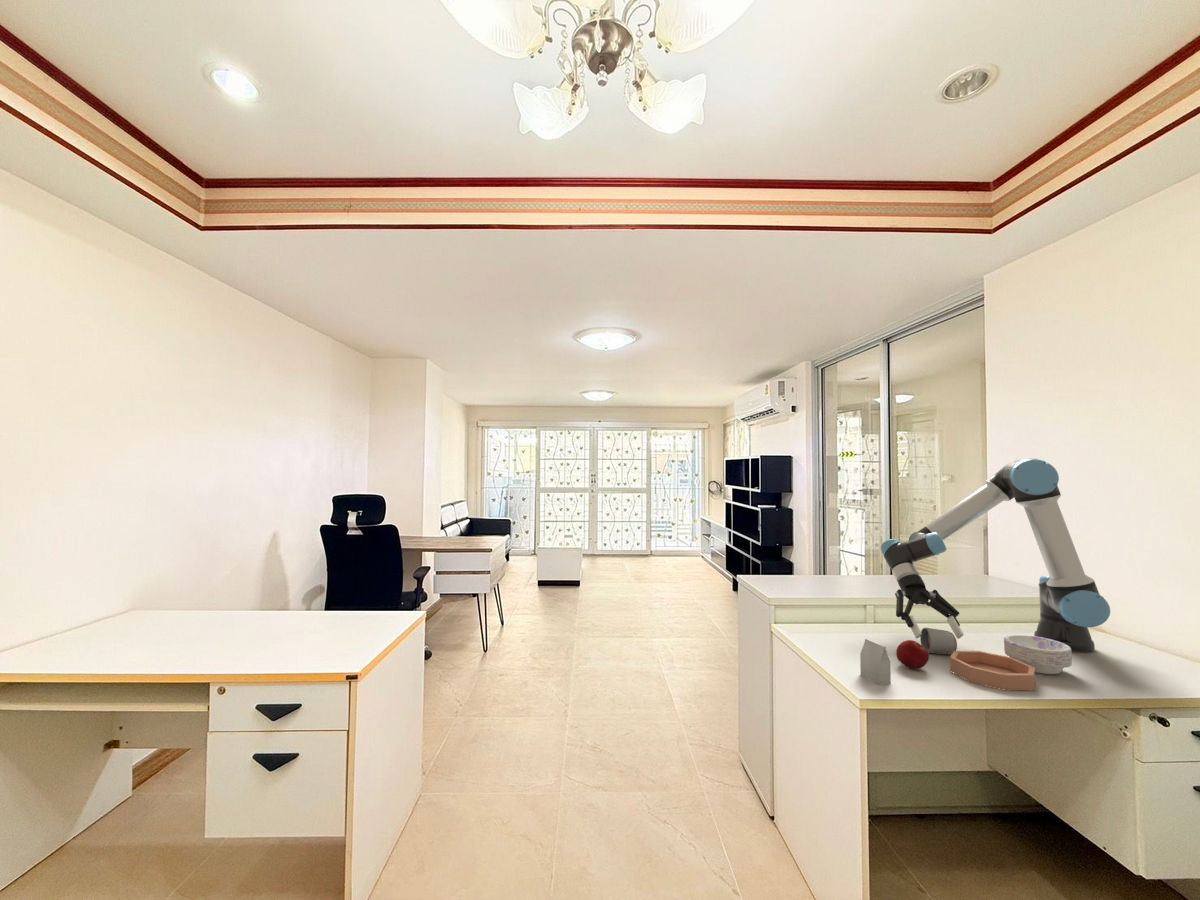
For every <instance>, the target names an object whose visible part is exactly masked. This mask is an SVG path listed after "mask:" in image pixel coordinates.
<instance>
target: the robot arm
mask: <svg viewBox="0 0 1200 900" xmlns="http://www.w3.org/2000/svg"><path fill="white" fill-rule="evenodd" d="M1059 477H1060V476H1059V473H1058V471H1057V469H1056V468H1055V466H1053V465H1052V464H1051V463H1049V462H1047V461H1045V460H1042V459H1038V458H1025V459H1024V458H1023V459H1018V460H1017V459H1016V460H1014V461H1010V462H1009V463H1006V465H1004V466H1003V467H1001V468H1000V469H999V470H998V471H997V472H996V473H994V474H993V475H992V476H990V478H988V479H986V480H985V485H983V486H981V487H980V488H979V489H977V490H976V491H975V492H973V493H971V494H970V495H969V496H967V497H966V498H964V499H963V500H961V501H960V502H958V503H957V504H955V505H954V506H953V507H951V508H950V509H948V510H947V511H946V512H943V513H942V514H941V515H939V516H938V517H937V518H935V519H934V520H932V521H931V522H929V523H928V524H926V525H925V526H924V527H923V528H921V529H919V530H918V531H914V532H913V533H911V534H910V536H909V537H908V540H907V541H903V542H902V541H901V540H899V539H898V538H893V539H891V538H889V539H887V540H885V541H883V542H882V543H881V545H880V551H881V553H882V556H883V557H884V560H885V562H886V563H887V565H888V567H889V568H890V569H889V570H891V572H892V575H893V577H894V578H895V580H896V582H897V584H898V586H899V589H897V590H896V591H895V593H894V594H895V598H896V604H895V605H896V606H895V616H896V617H897V618H901V620H902V621H905V624H906V625H907V627H908V628H910V630H911V631H912V634H913V635H914V638H915V639H919V638H920V636H921V635H922V633H921V630H920V627H919V625H918V623H917V622H916V619H915V617H914V615H910V613H911V611H912V608H913V607H914V604H915V605H926V606H927V607H931V608H933V610H935V611H936V612H938V613H940V614H941V615H942V616H944V617H945V618H946V621H947V623H948V625H949V627H950V629H951V630H952V632H953V634H954V636H955V638H956V640H957V639H959V640H960V639H961V638H962V637H963V636H964V635H965V634H964V632H963V631H962V629H961V624H960V622H959V621H958V619H957V617H958V616H959V615H960V614H961V613H960V611H958V610H957V609H956V608H955V607H954V606H953V605H951V603H950V602H948V601H947V600H946V598H944V596H942V595H940V593H939V591H938V590H937V589H933V590H932V591H930V590H927V588H926V583H925V582H924V580H923V579H922V576H921V575H920V573H919V571H918V569H917V568H916V566H915V565H914V563H916V562H918V561H921V560H925V559H928V558H930V557H934V556H939V555H940V554H943V553H945V552H946V551H947V546H946V543H945V542H944V541H945V540H947V539H948V538H949V537H951V536H952V535H954V534H955V533H957V532H959V531H960V530H962V529H963V528H965V527H966V526H968V525H969V524H971V523H972V522H974V521H976V520H977V519H978V518H980V517H981V516H982V515H983V516H984V514H986V513H987V512H989V511H990V510H992V509H993V508H995V507H997V506H998V505H999V504H1001V503H1002V502H1010V501H1012V500H1013V499H1014V500H1015V503H1016V504H1018V505H1020V506H1022V507H1023V508H1024V511H1025V514H1026V517H1027V519H1028V521H1029V524H1030V528H1031V529H1032V530H1031V531H1032V533H1033V535H1034V538H1035V541H1036V543H1037V546H1038V548H1039V551H1040V554H1041V557H1042V560H1043V561H1044V565H1045V567H1046V570H1047V572H1048V573H1047V574H1048V575H1042V576H1041V575H1040V577H1039V579H1038V581H1039V583H1038V590H1039V613H1040V615H1039V618H1040V619H1039V621H1038V624H1037V627H1036V630H1035V631H1034V634H1033V636H1036V637H1042V638H1047V639H1051V640H1055V641H1058V642H1061V643H1064V644H1066V645H1068V646H1069V647H1070V648H1071V650H1072V651H1071V652H1076V653H1077V652H1078V653H1079V652H1080V653H1094V652H1095V650H1096V648H1095V647H1096V646H1095V642H1094V640H1093V639H1092V635H1091V633H1090V631H1089V628H1096V627H1098V626H1101V625H1103V624H1104V623H1106V622H1107V621H1108V619H1109V618H1110V615H1111V607H1110V604H1109V603H1108V601H1107V600H1106V599H1105V598H1104V596H1103V595H1101V594H1100V592H1099V590H1098V587H1097V584H1096V582H1095V579H1093V578H1092V577H1090V576H1088V575H1087V574H1086V573H1085V571H1084V568H1083V565H1082V563H1081V560H1080V557H1079V555H1078V553H1077V550H1076V547H1075V543H1074V542H1073V539H1072V537H1071V533H1070V532H1069V528H1068V526H1067V524H1066V521H1065V519H1064V515H1063V513H1062V511H1061V508H1060V505H1059V503H1058V501H1059V499H1060V497H1062V494H1061V490H1060V488H1059V487H1058V484H1059V481H1060V478H1059ZM904 597H905V598H906V599H908V601H907V603H906V606H905V609H904Z"/></svg>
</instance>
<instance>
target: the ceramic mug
mask: <svg viewBox="0 0 1200 900" xmlns="http://www.w3.org/2000/svg"><path fill="white" fill-rule="evenodd" d="M920 631H921V633H922V635H921V636H920V637H919V638H920V645H922V646H923V647H925V648H926V650H927V651H928V653H929V654H937V653H939V654H940V655H952V654H953V652H954V651H957V649H958V641H957V637H956V636H955V634H954V632H953V633H952V632H951V631H950V630H949V631H948V630H945V629H937V628H930V627H923V628H922V629H921V630H920Z"/></svg>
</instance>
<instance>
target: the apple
mask: <svg viewBox="0 0 1200 900" xmlns="http://www.w3.org/2000/svg"><path fill="white" fill-rule="evenodd" d="M895 654H896V658H897V660H898V661H899V663H900V664H901V665H903V666H904V667H906V668H908V669H911V670H919V669H922V668H923V667H924V666H926V665H927V663H928V661H929V659H930V653H928V651H927V650H926V648H925V647H923V646H922V645H921V643H919V642H917V641H915V640H912V639H906V640H903V641H902V642H901V643H900V644H898V646H897V647H896V651H895Z"/></svg>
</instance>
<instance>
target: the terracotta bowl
mask: <svg viewBox="0 0 1200 900" xmlns="http://www.w3.org/2000/svg"><path fill="white" fill-rule="evenodd" d="M949 670H950V672H951V671H952V672H951V673H953V672H954V673H953V674H955V673H956V674H955V675H957V676H959V677H960V676H961V677H960V678H962V677H963V678H962V679H964V678H965V680H966V679H967V680H966V681H968V680H969V681H968V682H970V683H973V682H974V684H977V683H979V684H978V685H981V684H982V685H983V686H985V685H987V686H986V687H989V686H991V687H990V688H993V687H995V689H998V688H1000V689H999V690H1002V689H1005V690H1004V691H1006V690H1034V691H1035V688H1036V687H1035V686H1036V672H1035V667H1032V666H1030V665H1028V664H1025V663H1023V662H1021V661H1018V660H1016V659H1014V658H1011V657H1009V656H1007V655H1001V654H996V653H991V652H986V651H981V650H956V651H954V652H953V654H950V657H949ZM1034 687H1035V688H1034Z"/></svg>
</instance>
